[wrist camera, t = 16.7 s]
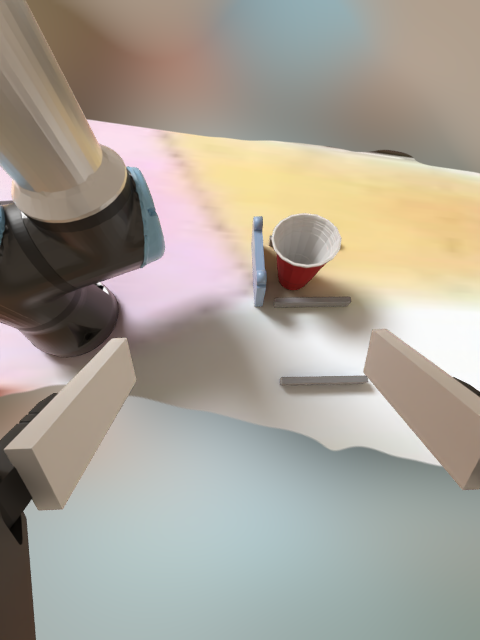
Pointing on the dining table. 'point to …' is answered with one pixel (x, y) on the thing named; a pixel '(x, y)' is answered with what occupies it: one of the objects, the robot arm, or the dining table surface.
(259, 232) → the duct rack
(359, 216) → the dining table surface
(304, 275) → the plastic cup
